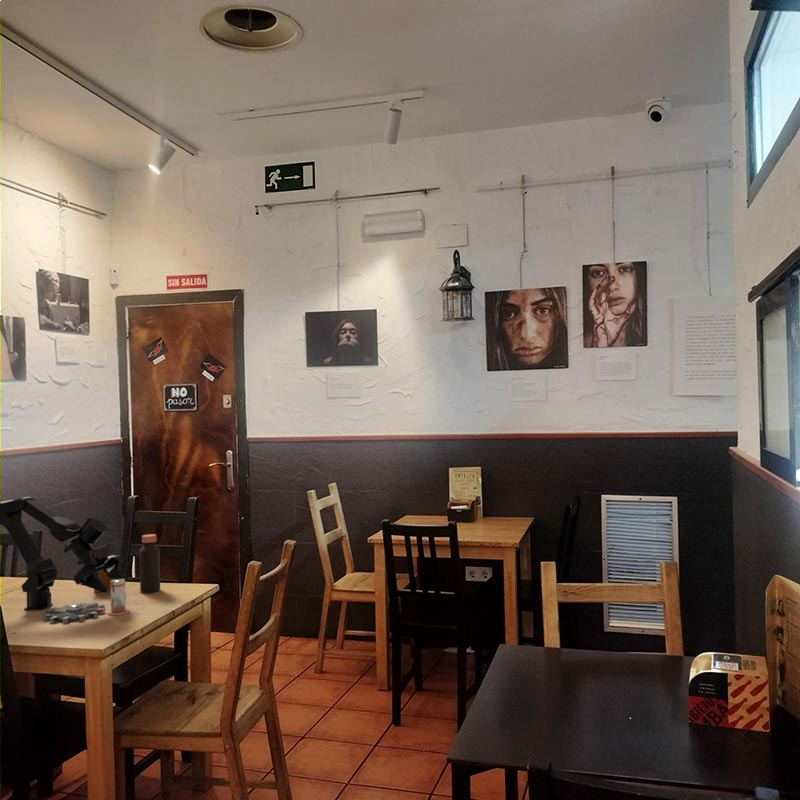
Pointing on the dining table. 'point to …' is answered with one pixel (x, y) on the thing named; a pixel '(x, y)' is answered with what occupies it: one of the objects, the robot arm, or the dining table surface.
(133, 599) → the dining table surface
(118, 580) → the pin
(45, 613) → the sprocket
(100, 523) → the robot arm
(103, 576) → the disposable coffee cup
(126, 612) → the seat pad
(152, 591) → the bottle
